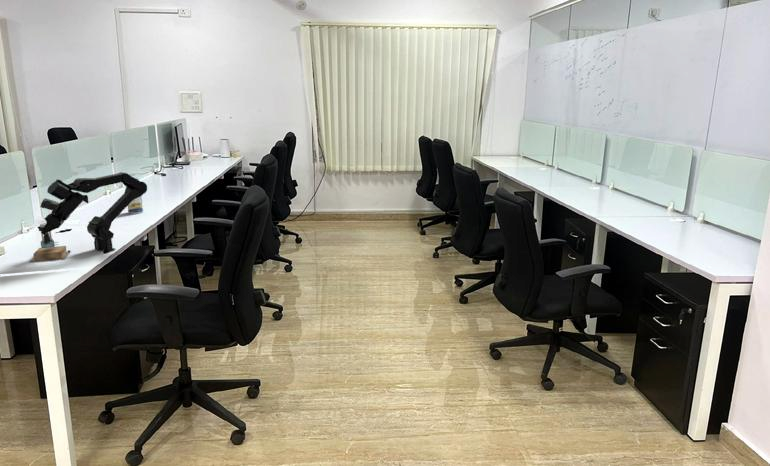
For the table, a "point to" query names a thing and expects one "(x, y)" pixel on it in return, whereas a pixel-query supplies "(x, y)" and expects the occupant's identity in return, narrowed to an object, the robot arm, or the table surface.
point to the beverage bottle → (135, 205)
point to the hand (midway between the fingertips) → (43, 232)
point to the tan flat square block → (50, 253)
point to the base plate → (54, 259)
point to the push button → (46, 238)
